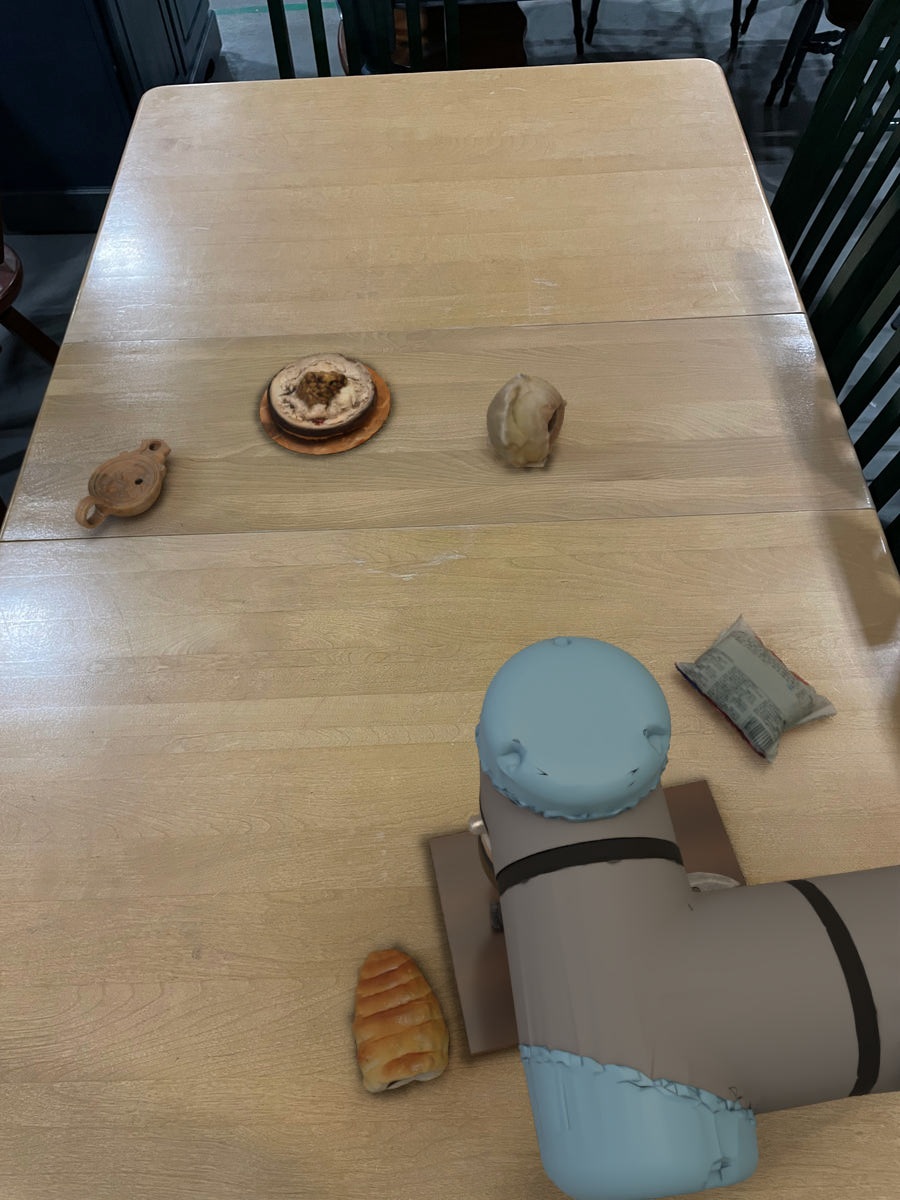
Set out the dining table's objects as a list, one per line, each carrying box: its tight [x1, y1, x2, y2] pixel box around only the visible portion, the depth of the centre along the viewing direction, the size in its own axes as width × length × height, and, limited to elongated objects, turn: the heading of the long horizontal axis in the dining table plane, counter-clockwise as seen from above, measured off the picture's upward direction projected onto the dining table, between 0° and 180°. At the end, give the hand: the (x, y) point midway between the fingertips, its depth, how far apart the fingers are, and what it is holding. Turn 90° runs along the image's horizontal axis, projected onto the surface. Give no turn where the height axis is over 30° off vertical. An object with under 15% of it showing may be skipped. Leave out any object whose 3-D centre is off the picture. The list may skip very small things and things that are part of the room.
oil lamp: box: [74, 438, 172, 530], centre depth 89 cm, size 13×8×5 cm, turn 150°
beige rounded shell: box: [486, 372, 568, 468], centre depth 90 cm, size 9×8×10 cm
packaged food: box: [674, 613, 838, 765], centre depth 75 cm, size 9×12×5 cm
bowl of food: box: [259, 352, 391, 456], centre depth 96 cm, size 15×15×4 cm
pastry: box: [351, 948, 450, 1094], centre depth 62 cm, size 9×7×4 cm
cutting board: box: [427, 779, 748, 1057], centre depth 67 cm, size 16×24×1 cm, turn 102°
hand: (526, 916), depth 65 cm, fingers closed on knife, 4 cm apart
